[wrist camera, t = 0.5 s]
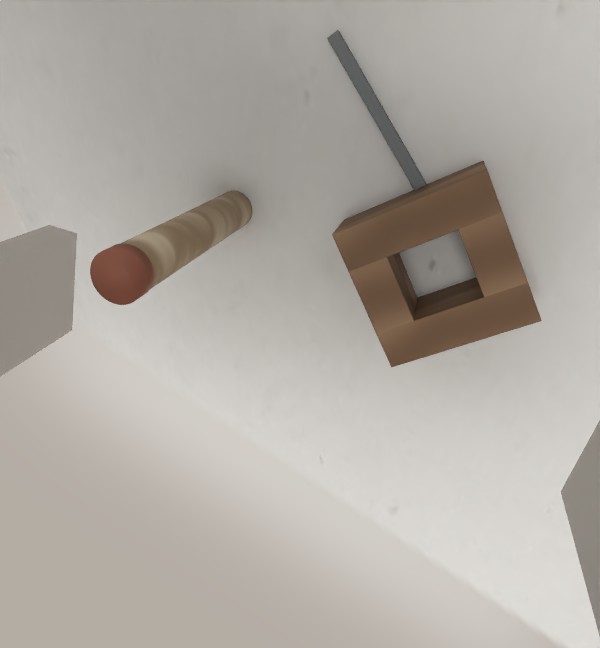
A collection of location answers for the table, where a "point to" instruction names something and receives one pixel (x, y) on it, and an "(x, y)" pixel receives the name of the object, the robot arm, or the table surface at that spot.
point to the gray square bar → (376, 110)
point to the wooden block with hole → (448, 304)
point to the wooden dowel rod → (166, 248)
